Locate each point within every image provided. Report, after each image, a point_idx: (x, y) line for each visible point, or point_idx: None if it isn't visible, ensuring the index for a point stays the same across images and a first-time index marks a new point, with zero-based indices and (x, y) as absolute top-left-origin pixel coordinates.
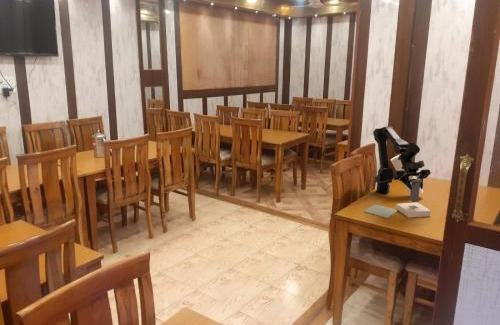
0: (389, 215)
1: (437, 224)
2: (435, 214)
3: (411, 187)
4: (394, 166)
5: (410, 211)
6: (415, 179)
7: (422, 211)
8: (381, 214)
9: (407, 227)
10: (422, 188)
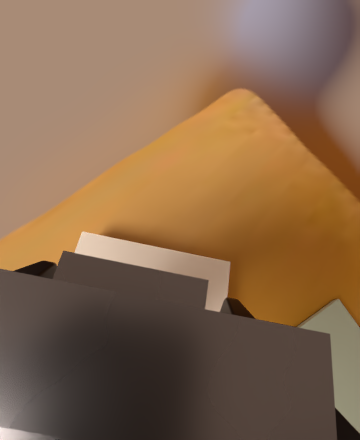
0: (318, 319)
1: (144, 157)
2: (37, 249)
3: (238, 309)
4: None
5: (214, 266)
6: (155, 342)
7: (138, 244)
8: (358, 351)
9: (291, 183)
10: (49, 262)
